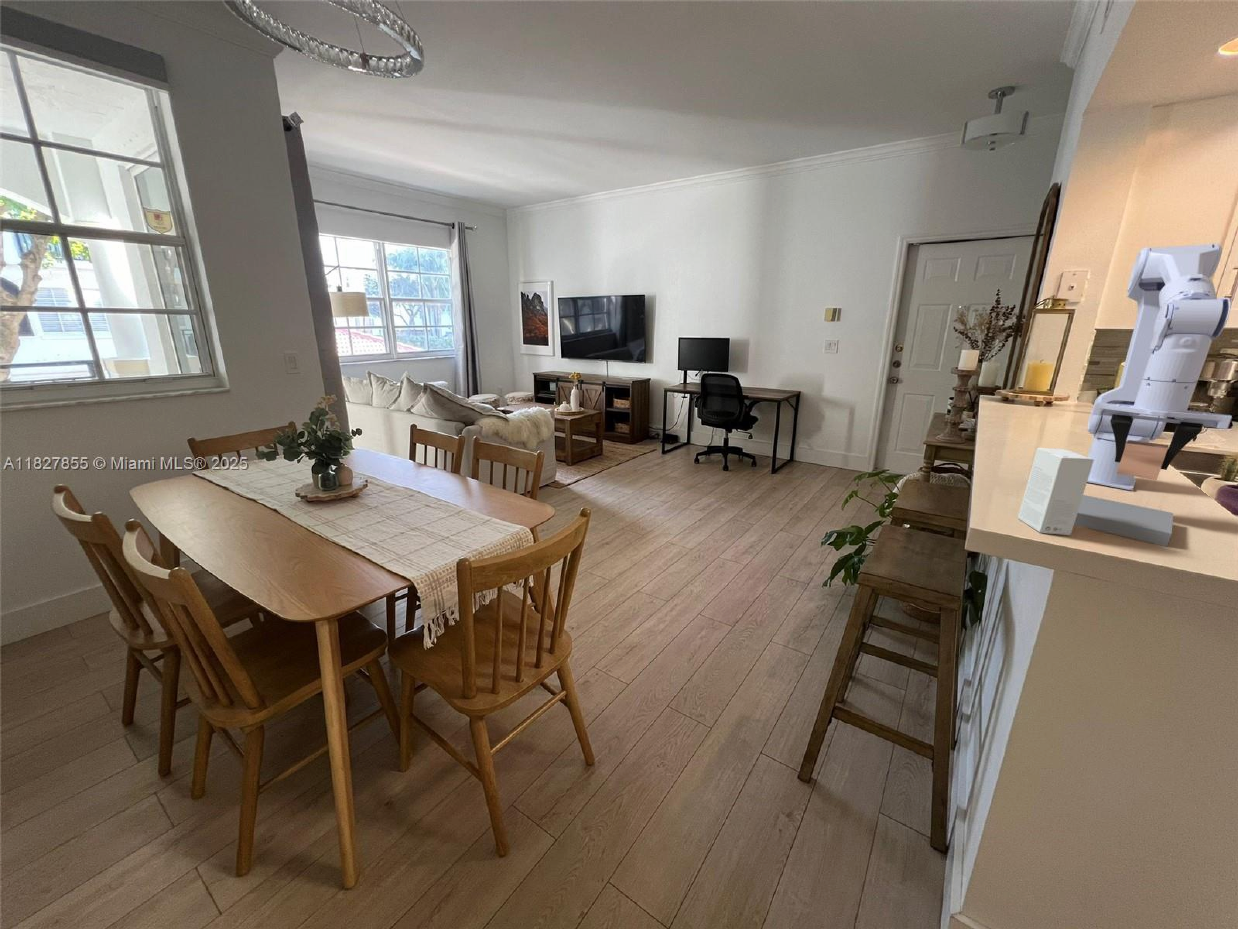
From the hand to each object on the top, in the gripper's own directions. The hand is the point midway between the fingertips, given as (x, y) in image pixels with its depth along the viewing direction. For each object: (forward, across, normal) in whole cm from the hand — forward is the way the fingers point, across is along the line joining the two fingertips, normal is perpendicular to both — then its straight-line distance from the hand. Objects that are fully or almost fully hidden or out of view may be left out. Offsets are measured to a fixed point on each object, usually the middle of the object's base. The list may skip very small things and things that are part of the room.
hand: (1140, 464), depth 78 cm
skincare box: (+9, -8, -18) cm, 22 cm away
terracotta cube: (+2, 0, 0) cm, 2 cm away
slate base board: (+9, -1, -7) cm, 11 cm away
